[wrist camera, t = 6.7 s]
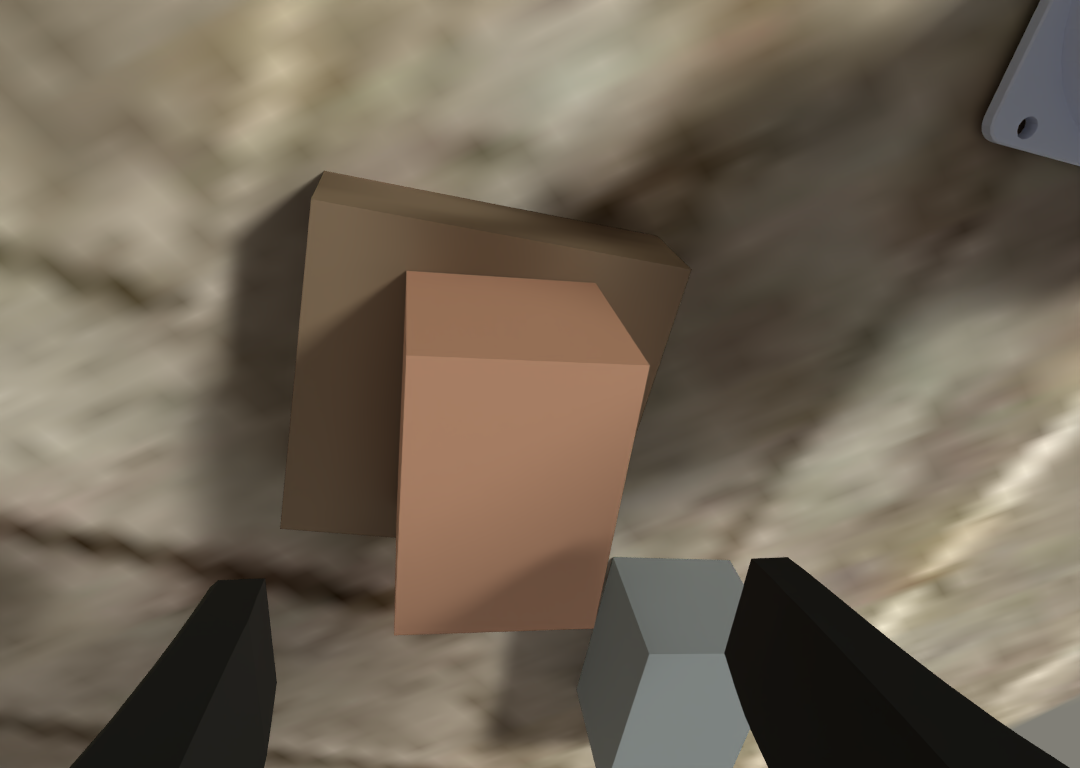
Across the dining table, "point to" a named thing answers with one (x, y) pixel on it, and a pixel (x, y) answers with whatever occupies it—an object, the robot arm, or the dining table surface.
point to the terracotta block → (510, 452)
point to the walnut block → (379, 311)
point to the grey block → (663, 667)
